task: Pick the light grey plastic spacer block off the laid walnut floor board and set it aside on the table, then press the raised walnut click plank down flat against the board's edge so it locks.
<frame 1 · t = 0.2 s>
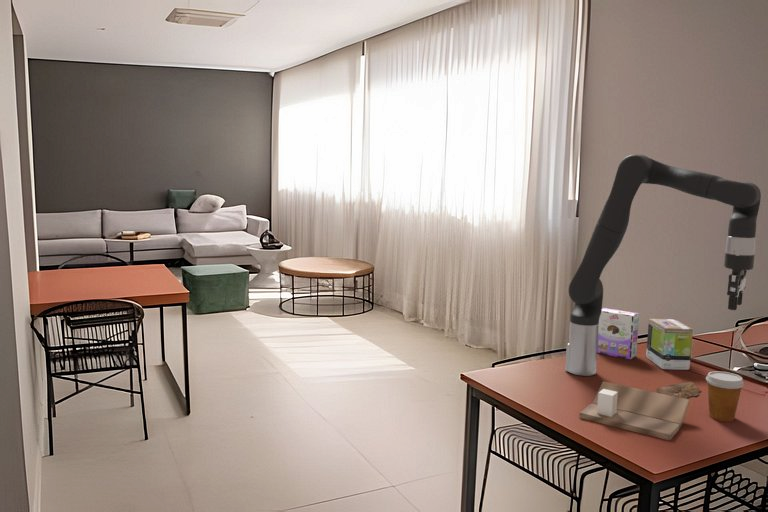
hand: (734, 307, 195), 29 cm above the table, tool pointing down, fingers open, 8 cm apart
wooden fragment: (678, 393, 208), on the table
click plank: (639, 403, 189), point 3 cm above the table, hinge at 30.0°
candy box: (615, 355, 247), on the table
disposable coffee cup: (721, 417, 188), on the table
floor board: (628, 423, 182), on the table
tea box: (667, 364, 237), on the table
spacer: (606, 412, 186), point 2 cm above the table, touching floor board
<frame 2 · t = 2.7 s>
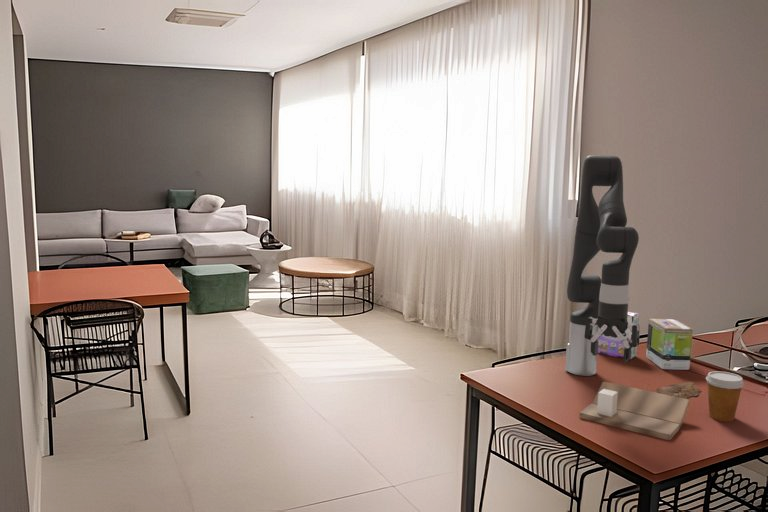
hand: (610, 357, 183), 17 cm above the table, tool pointing down, fingers open, 8 cm apart
nothing on the table moved.
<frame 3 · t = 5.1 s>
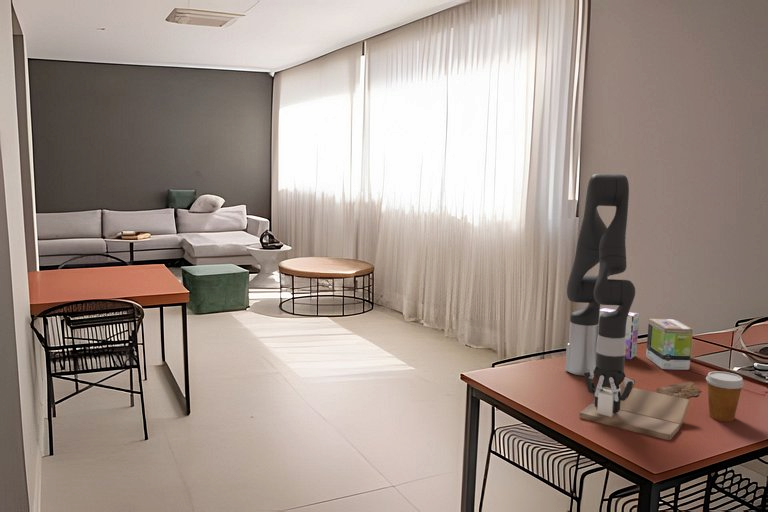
hand: (607, 410, 185), 2 cm above the table, tool pointing down, fingers closed on spacer, 4 cm apart
spacer: (606, 412, 186), point 2 cm above the table, touching floor board, gripper
everything else where it was.
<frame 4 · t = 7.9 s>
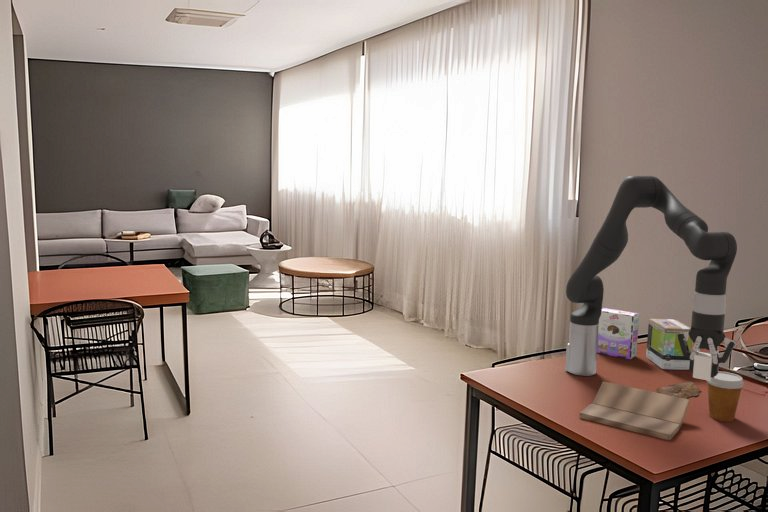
hand: (703, 374, 172), 17 cm above the table, tool pointing down, fingers closed on spacer, 4 cm apart
spacer: (702, 377, 172), point 16 cm above the table, touching gripper
everything else where it was.
when the fingers open (2 cm above the table, at t = 10.9 s): spacer drops 1 cm, on the table.
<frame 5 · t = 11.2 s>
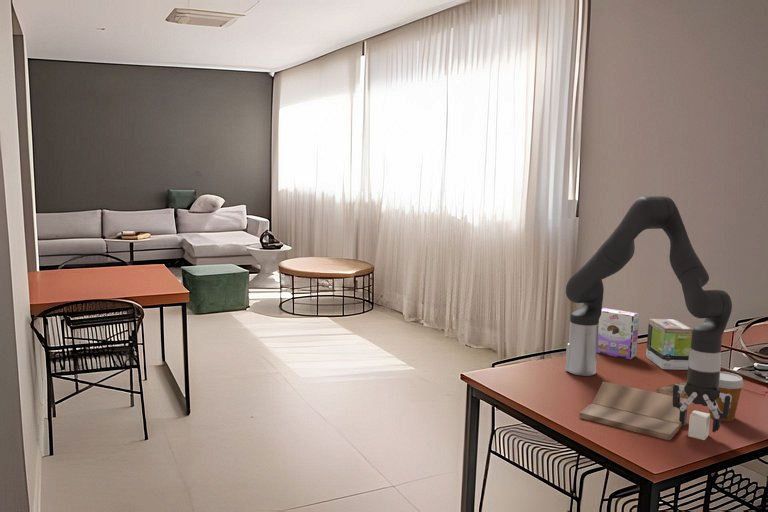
hand: (699, 427, 174), 2 cm above the table, tool pointing down, fingers open, 7 cm apart
spacer: (698, 436, 175), on the table
everything else where it was.
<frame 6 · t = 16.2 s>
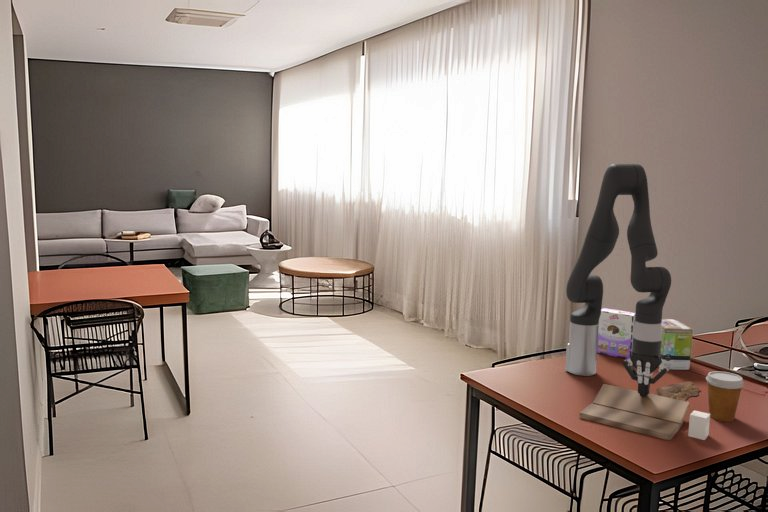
hand: (643, 395, 191), 5 cm above the table, tool pointing down, fingers closed
click plank: (640, 404, 190), point 3 cm above the table, hinge at 22.5°, touching gripper
everything else where it was.
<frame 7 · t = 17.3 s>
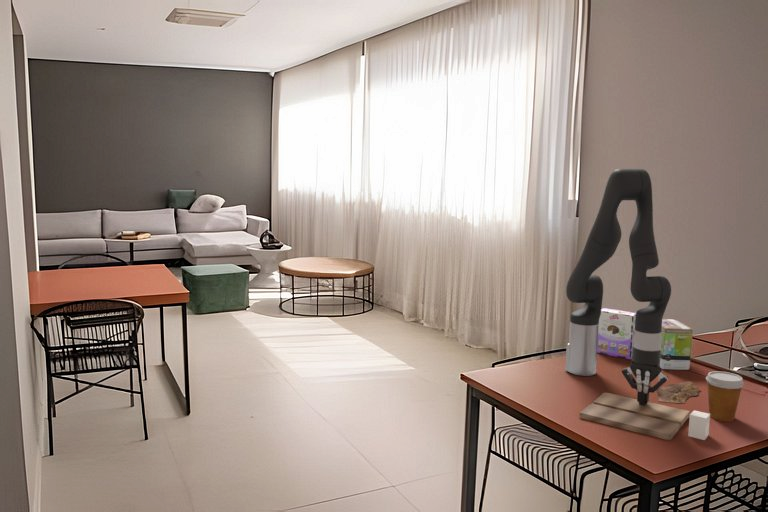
hand: (642, 404, 192), 2 cm above the table, tool pointing down, fingers closed
click plank: (640, 408, 190), point 1 cm above the table, hinge at 2.4°, touching gripper
everything else where it was.
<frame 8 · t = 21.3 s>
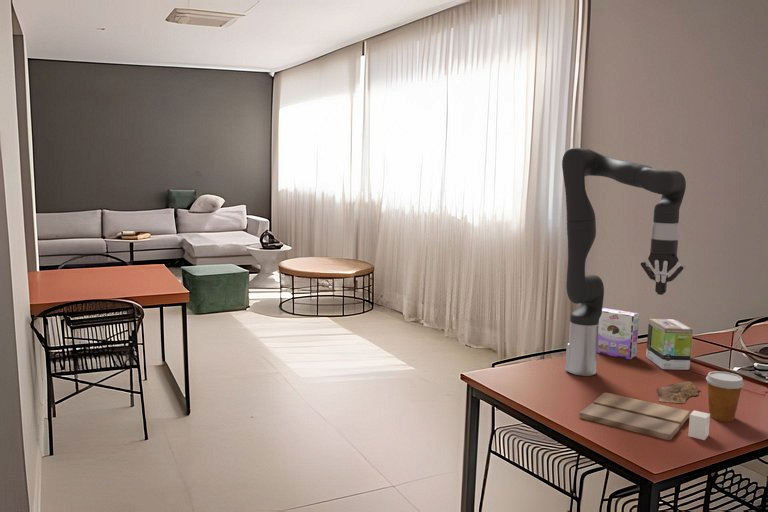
hand: (660, 294, 203), 31 cm above the table, tool pointing down, fingers closed
click plank: (640, 408, 190), point 1 cm above the table, hinge at 2.3°
everything else where it was.
at the end: click plank at +2° (first picture: +30°); spacer inside the target area (0.1 cm from its centre), on the table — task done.
